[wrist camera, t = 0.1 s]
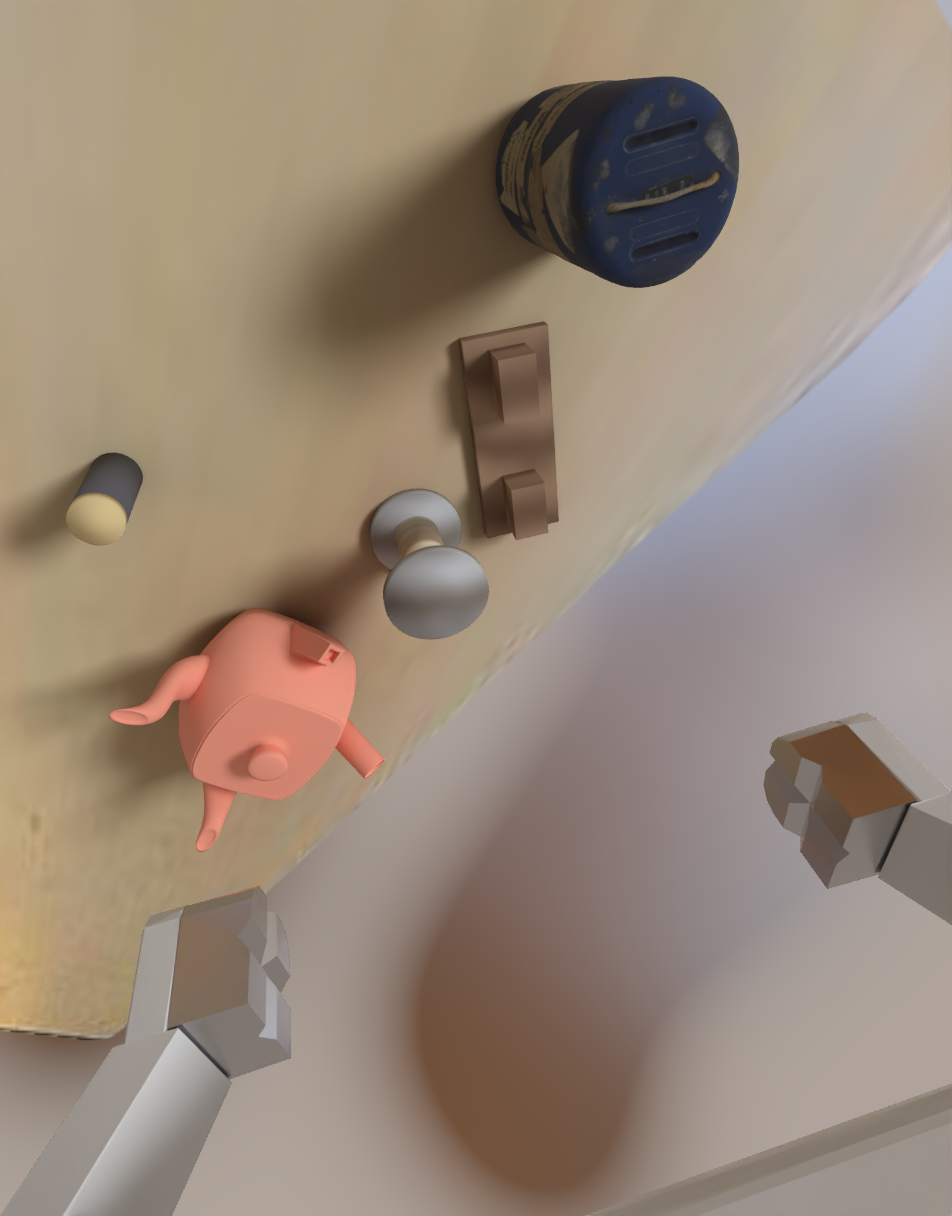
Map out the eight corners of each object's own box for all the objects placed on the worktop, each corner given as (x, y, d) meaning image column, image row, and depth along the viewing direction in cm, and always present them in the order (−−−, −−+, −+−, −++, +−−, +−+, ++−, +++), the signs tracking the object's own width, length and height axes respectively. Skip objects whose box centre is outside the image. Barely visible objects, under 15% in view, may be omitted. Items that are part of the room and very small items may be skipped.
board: (459, 338, 53) (470, 352, 50) (543, 321, 53) (560, 334, 50) (485, 533, 64) (496, 554, 61) (555, 516, 64) (569, 536, 61)
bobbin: (359, 500, 59) (374, 566, 50) (452, 479, 60) (482, 540, 51) (380, 578, 64) (396, 649, 55) (465, 557, 65) (493, 625, 56)
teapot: (209, 748, 71) (197, 862, 60) (134, 615, 60) (102, 724, 49) (377, 705, 73) (394, 807, 62) (334, 567, 62) (347, 663, 51)
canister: (493, 82, 44) (596, 64, 30) (627, 88, 46) (784, 75, 32) (487, 246, 49) (572, 298, 35) (607, 246, 51) (732, 294, 37)
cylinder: (82, 458, 51) (55, 505, 45) (130, 448, 52) (110, 493, 45) (104, 499, 53) (81, 550, 47) (150, 489, 54) (133, 538, 48)
